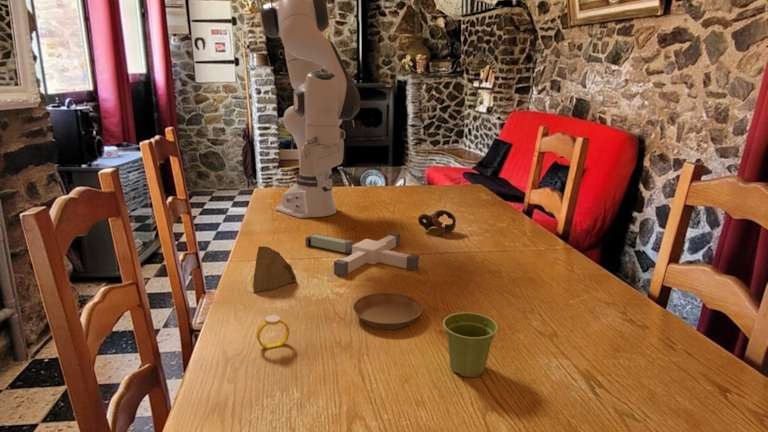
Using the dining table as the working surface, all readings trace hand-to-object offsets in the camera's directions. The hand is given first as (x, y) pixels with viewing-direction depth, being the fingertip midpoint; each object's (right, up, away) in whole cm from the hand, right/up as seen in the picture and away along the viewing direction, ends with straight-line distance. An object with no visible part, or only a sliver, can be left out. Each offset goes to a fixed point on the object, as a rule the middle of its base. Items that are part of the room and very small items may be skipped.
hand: (322, 186), depth 141 cm
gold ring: (-4, -33, -42) cm, 54 cm away
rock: (-10, -25, -15) cm, 31 cm away
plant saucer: (+17, -30, -30) cm, 46 cm away
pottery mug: (+33, -14, +26) cm, 45 cm away
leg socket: (-4, -17, +12) cm, 21 cm away
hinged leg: (+2, -18, +9) cm, 20 cm away
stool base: (+17, -20, +1) cm, 26 cm away
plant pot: (+31, -35, -48) cm, 68 cm away
